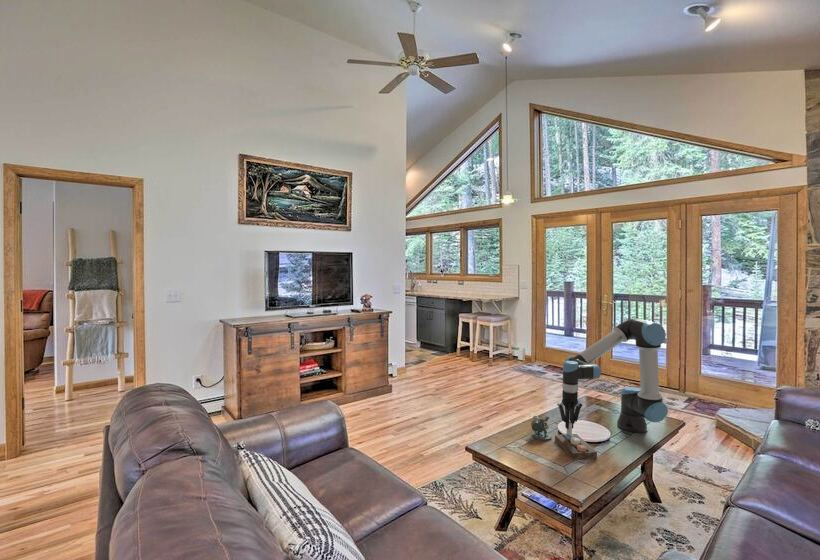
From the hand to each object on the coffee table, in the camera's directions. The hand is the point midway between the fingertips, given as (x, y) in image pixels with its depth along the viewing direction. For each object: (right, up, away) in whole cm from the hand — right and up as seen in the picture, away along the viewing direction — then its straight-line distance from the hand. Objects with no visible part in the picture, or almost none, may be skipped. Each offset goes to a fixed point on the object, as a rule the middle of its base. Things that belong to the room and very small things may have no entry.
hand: (569, 434), depth 213 cm
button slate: (0, -3, 0) cm, 3 cm away
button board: (+1, -6, -6) cm, 8 cm away
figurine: (-12, -5, +9) cm, 16 cm away
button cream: (+1, -3, -6) cm, 7 cm away
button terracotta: (+1, -4, -13) cm, 13 cm away
